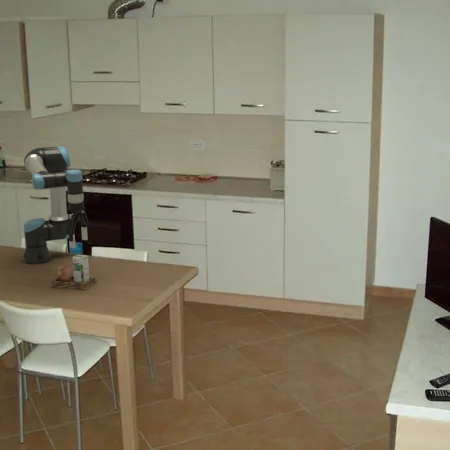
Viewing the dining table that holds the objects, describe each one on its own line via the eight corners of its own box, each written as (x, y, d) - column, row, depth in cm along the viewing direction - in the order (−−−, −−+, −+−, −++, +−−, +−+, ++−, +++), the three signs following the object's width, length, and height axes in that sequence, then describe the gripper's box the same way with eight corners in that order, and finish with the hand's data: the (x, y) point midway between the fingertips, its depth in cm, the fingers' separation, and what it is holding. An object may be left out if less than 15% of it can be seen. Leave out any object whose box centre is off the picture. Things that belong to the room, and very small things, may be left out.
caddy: (50, 287, 348) (48, 270, 346) (61, 280, 359) (60, 263, 357) (86, 290, 343) (85, 273, 341) (97, 282, 354) (96, 265, 352)
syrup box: (73, 284, 349) (71, 257, 345) (80, 281, 354) (78, 253, 350) (83, 286, 346) (81, 258, 343) (90, 282, 352) (88, 255, 348)
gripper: (71, 208, 327) (74, 251, 332) (93, 196, 350) (96, 237, 356) (56, 207, 329) (60, 250, 334) (80, 196, 352) (83, 236, 357)
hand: (78, 243), depth 345 cm, fingers open, 13 cm apart
